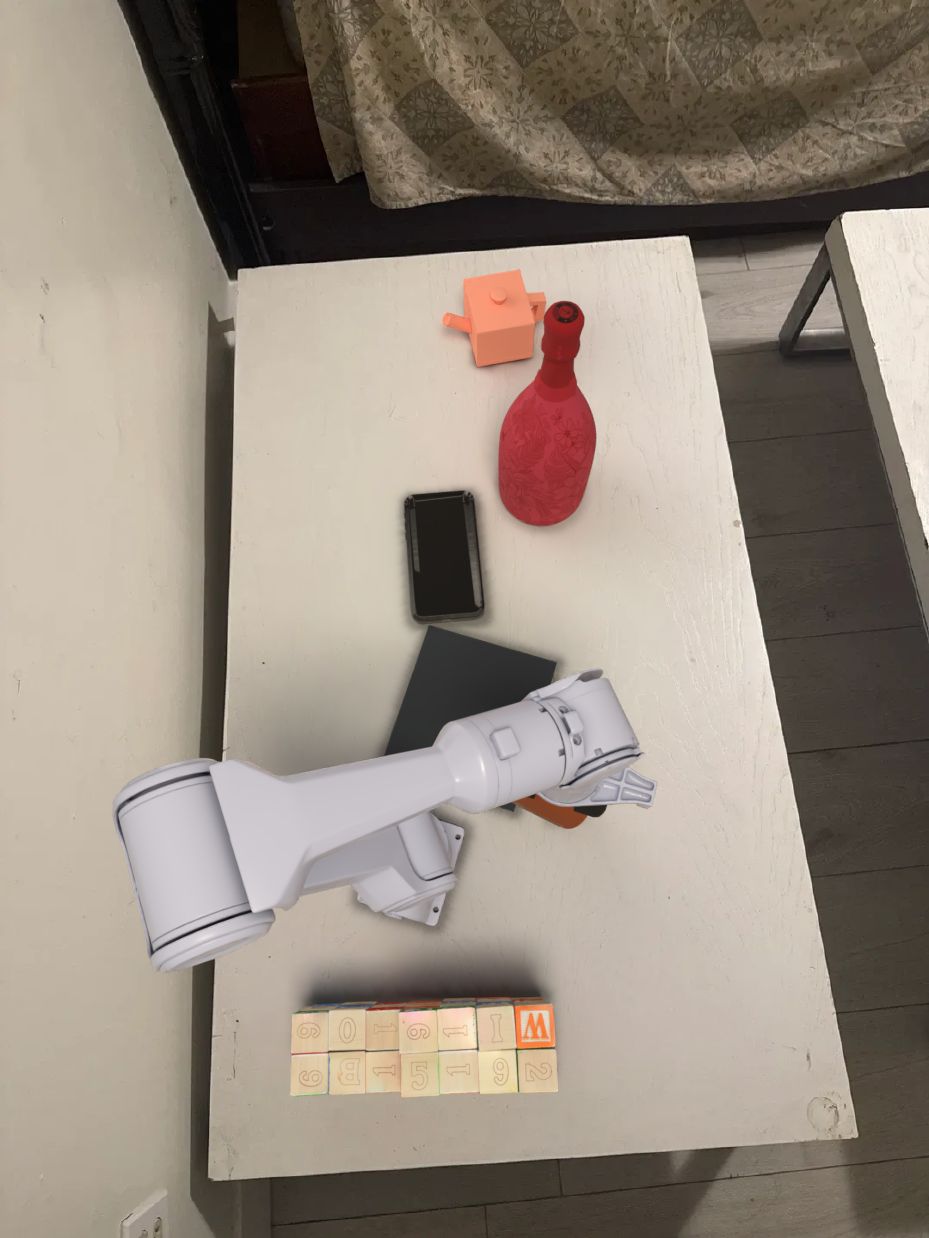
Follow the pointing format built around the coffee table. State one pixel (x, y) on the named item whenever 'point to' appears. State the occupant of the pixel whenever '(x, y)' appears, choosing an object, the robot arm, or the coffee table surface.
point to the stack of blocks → (425, 1047)
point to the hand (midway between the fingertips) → (557, 785)
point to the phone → (443, 557)
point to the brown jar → (551, 812)
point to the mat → (462, 686)
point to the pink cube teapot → (499, 317)
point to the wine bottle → (549, 430)
